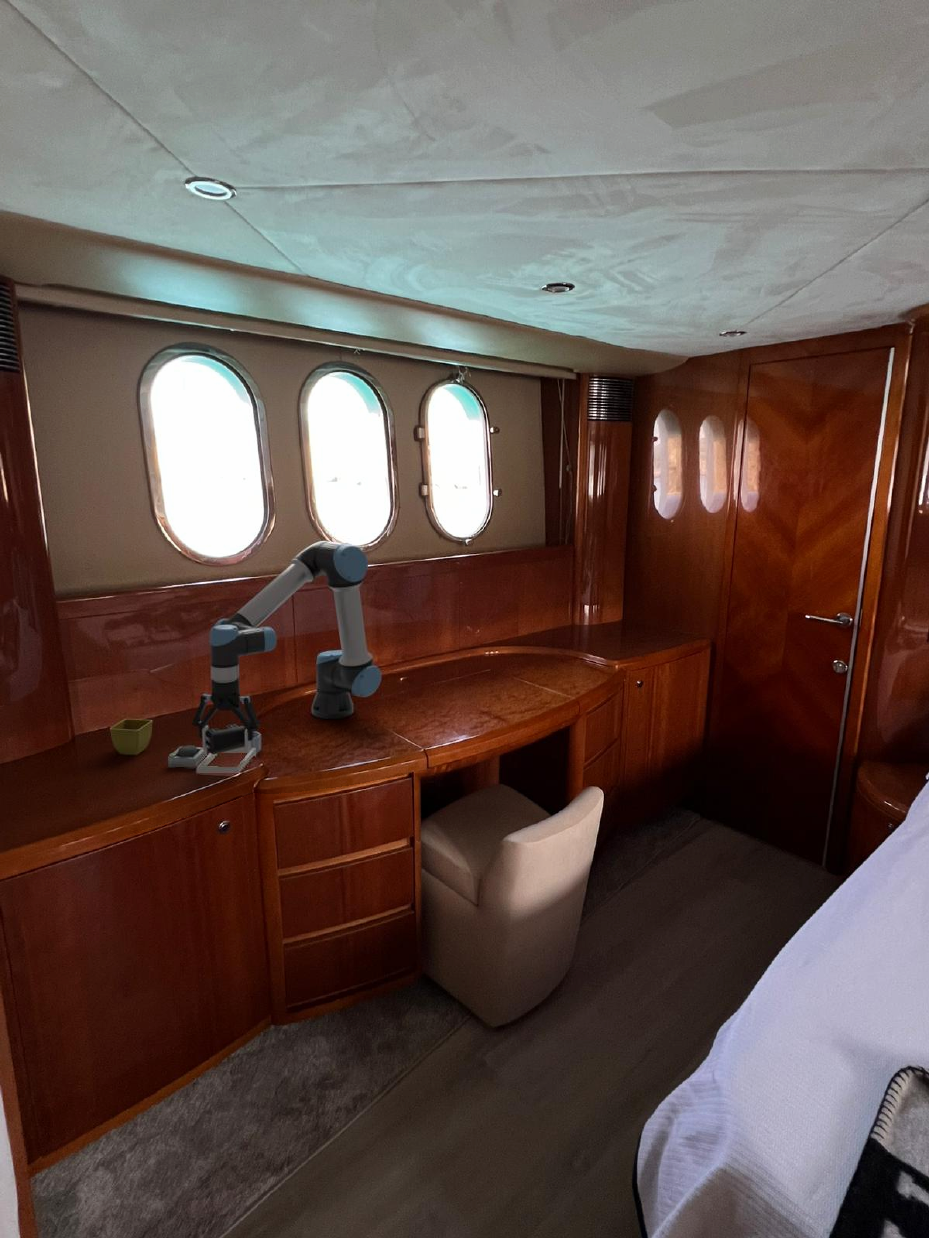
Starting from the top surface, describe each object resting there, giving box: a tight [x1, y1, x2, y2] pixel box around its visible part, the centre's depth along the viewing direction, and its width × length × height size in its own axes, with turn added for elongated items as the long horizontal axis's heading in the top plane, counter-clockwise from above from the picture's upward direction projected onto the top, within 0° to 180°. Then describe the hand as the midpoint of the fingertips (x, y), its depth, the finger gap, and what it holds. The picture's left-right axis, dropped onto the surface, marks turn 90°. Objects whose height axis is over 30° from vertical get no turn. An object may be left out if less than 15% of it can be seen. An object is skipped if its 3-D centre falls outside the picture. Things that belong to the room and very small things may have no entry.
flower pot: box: [109, 718, 153, 756], centre depth 192 cm, size 9×9×9 cm
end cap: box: [206, 723, 246, 754], centre depth 186 cm, size 10×7×7 cm
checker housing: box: [167, 745, 208, 768], centre depth 188 cm, size 8×8×4 cm
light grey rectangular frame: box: [196, 747, 257, 774], centre depth 188 cm, size 12×15×2 cm
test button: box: [177, 745, 198, 757], centre depth 188 cm, size 5×5×3 cm
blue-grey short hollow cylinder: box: [244, 731, 262, 754], centre depth 198 cm, size 6×6×5 cm
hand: (227, 749), depth 187 cm, fingers closed on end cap, 12 cm apart
